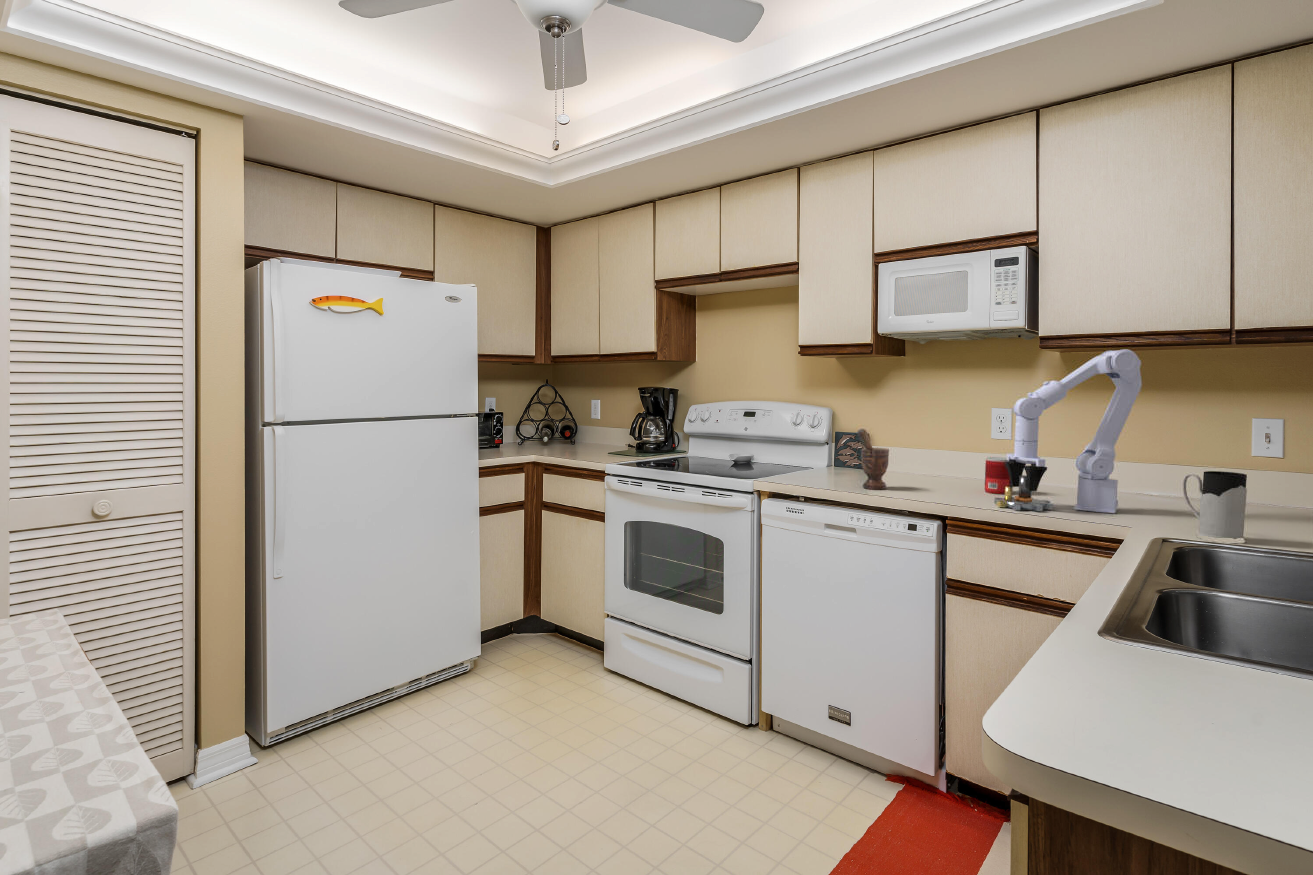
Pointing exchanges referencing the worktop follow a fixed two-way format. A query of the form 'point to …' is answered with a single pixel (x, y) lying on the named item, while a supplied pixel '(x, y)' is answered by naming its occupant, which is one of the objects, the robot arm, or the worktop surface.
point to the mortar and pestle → (873, 462)
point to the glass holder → (1220, 504)
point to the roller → (1023, 487)
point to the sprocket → (1022, 502)
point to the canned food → (996, 475)
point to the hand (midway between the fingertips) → (1023, 488)
